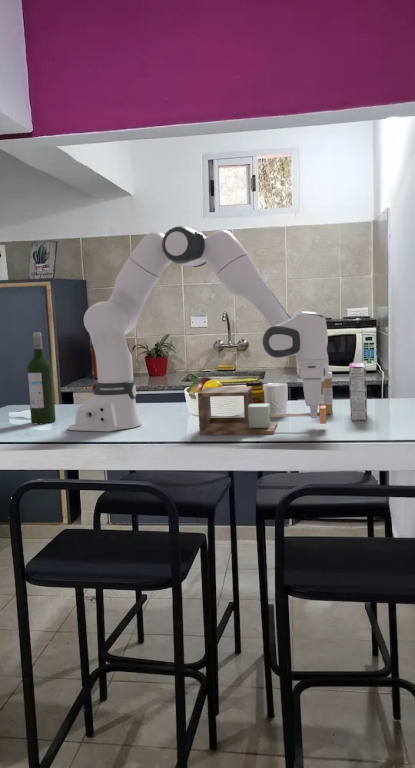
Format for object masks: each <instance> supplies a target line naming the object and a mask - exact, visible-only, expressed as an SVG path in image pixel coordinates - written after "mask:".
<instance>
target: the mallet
mask: <svg viewBox="0 0 415 768" xmlns="http://www.w3.org/2000/svg"><path fill="white" fill-rule="evenodd" d="M248 417H249V428H269V426H270V423H271V418H292V417H295V418H296V417H297V418H300V417H303V418H304V417H310V418H311V412H297V413H296V412H295V413H293V412H291V413H290V412H289V413H287V412H286V413H277V414H270V403H267V404H249V405H248ZM317 417H319V424H321V425H322V424H323V425H327V424H326V423H327V414H326V405H325V406H320V413H319V412H318V413H317Z"/></svg>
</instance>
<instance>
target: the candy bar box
mask: <svg viewBox="0 0 415 768" xmlns="http://www.w3.org/2000/svg"><path fill="white" fill-rule="evenodd" d="M348 367H349V371H348V372H349V374H348V375H349V401H350V403H349V405H350V418H351V421H353V420H359V421H367V420H368V405H367V403H368V402H367V398H368V397H367V370H366V363H365V362H351V363H349V366H348Z"/></svg>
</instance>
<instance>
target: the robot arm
mask: <svg viewBox="0 0 415 768" xmlns="http://www.w3.org/2000/svg"><path fill="white" fill-rule="evenodd" d="M173 263H175V264H178V265H180V266H183V267H193V268H198V267H202V266H204V265H206V264H208V265H209V266H210V267H211V269H212V271H213V272H214V274H215V275H216V277H217V279H218V280H219V282H220V283H221V284H222V285H223V286H224V288H225V289H226V290H227V291H228V292H229V293H230V294H232V295H233V296H234V297H238V298H240V299H242V300H245V301H247V302H248V303H250V304H252V305H253V306H254V307H255V308H256V309H257V310H258V311H259V313H260V315H262V317H263V318H264V320H265V322H266V323H267V324H268V326H269V328H268V329H267V330H266V331H265V332H264V334H263V337H262V347H263V349H264V351H265V352H266V353H267V355H269V356H270V357H272V358H277V359H284V358H288V357H296V372H297V373H296V375H297V377H298V376H299V378H300V379H301V382H302V388H303V395H304V402H305V406H307V407H309V411H310V412H309V413H311V417H310V418H311V419H317V418H318V416H317V413H319V403H320V396H321V384H322V381H324V377H325V376H326V375H328V374H329V372H330V370H329V366H330V365H329V354H328V344H329V342H328V341H329V337H328V327H327V321H326V318H325V316H324V315H323V314H322V313H319V312H315V311H306V310H305V311H303V310H301V311H298V312H297V313H296V314H295V315H294V316H292V317H291V316H290V315H289V314H288V312H287V311H286V309H284V307H283V305H282V303H280V301H279V300H278V299H277V297H276V296H275V294H274V293H273V292H272V290H271V289H270V288H269V285H267V283H266V281H265V280H264V278H263V276H262V275H261V272H260V270H259V269H258V267H257V266H256V264H255V261H254V260H253V259H252V257H251V256H250V254H249V253H248V251H247V249H245V247H244V246H243V245H242V243H241V242H240V241H239V239H237V238H236V236H234V235H233V233H231V231H228V230H224V229H221V230H217V231H214V232H213V233H211V234H210V235H207V234H205V233H204V232H202V231H200V230H198V229H196V228H193V227H188V226H185V225H184V226H183V225H180V226H174V227H172V228H170V229H169V230H167V231H166V232H165V234H164V233H163V232H160V231H159V232H158V231H151V232H149V233H147V234H146V235H145V236H144V237H143V238H142V239H141V240H140V241H139V243H138V244H137V245H136V246H135V248H134V249H133V251H132V252H131V254H130V255H129V257H128V258H127V260H126V261H125V263H124V265H123V266H122V268H121V270H120V271H119V273H118V274H117V276H116V278H115V284H114V288H113V290H112V294H111V296H110V297H109V299H108V300H106V301H98V302H97V303H95V304H92V305H91V306H90V307H89V308H87V310H86V311H85V313H84V314H83V315H84V316H83V325H84V327H85V330H86V331H87V332H88V334H89V337H90V340H91V343H92V346H93V350H94V356H95V361H96V374H97V376H96V377H97V382H95V383H94V384H93V385H91V386H90V390H91V391H92V395H91V396H90V397H88V398H87V399H86V400H85V401H83V403H82V404H81V405H79V406H78V407H77V410H76V413H75V420H74V422H72V423H70V424H69V425H68V430H69V431H80V432H81V431H83V432H114V431H115V432H116V431H118V430H126V429H133V428H137V427H139V426H141V425H142V422H141V419H140V417H139V412H138V407H137V402H136V397H137V387H136V380H135V379H134V368H133V367H134V366H133V356H132V352H130V348H129V347H128V342H127V339H126V335H127V334H129V333H131V332H132V331H133V330H134V329H135V328H136V327H137V325H138V321H139V318H140V315H141V313H142V310H143V309H144V306H145V304H146V301H147V299H148V297H149V296H150V294H151V292H152V291H153V290H154V288H155V286H156V284H157V283H158V281H159V280H160V278H161V277H162V275H163V273H164V272H165V270H166V268H168V266H170V264H173Z"/></svg>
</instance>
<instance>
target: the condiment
mask: <svg viewBox="0 0 415 768" xmlns="http://www.w3.org/2000/svg"><path fill="white" fill-rule="evenodd" d="M248 386H252V399H253V404H265V398H264V390H263V381H262V380H253V381H252V380H251V381H247V382H245V387H248ZM248 405H249V394H248Z"/></svg>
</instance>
